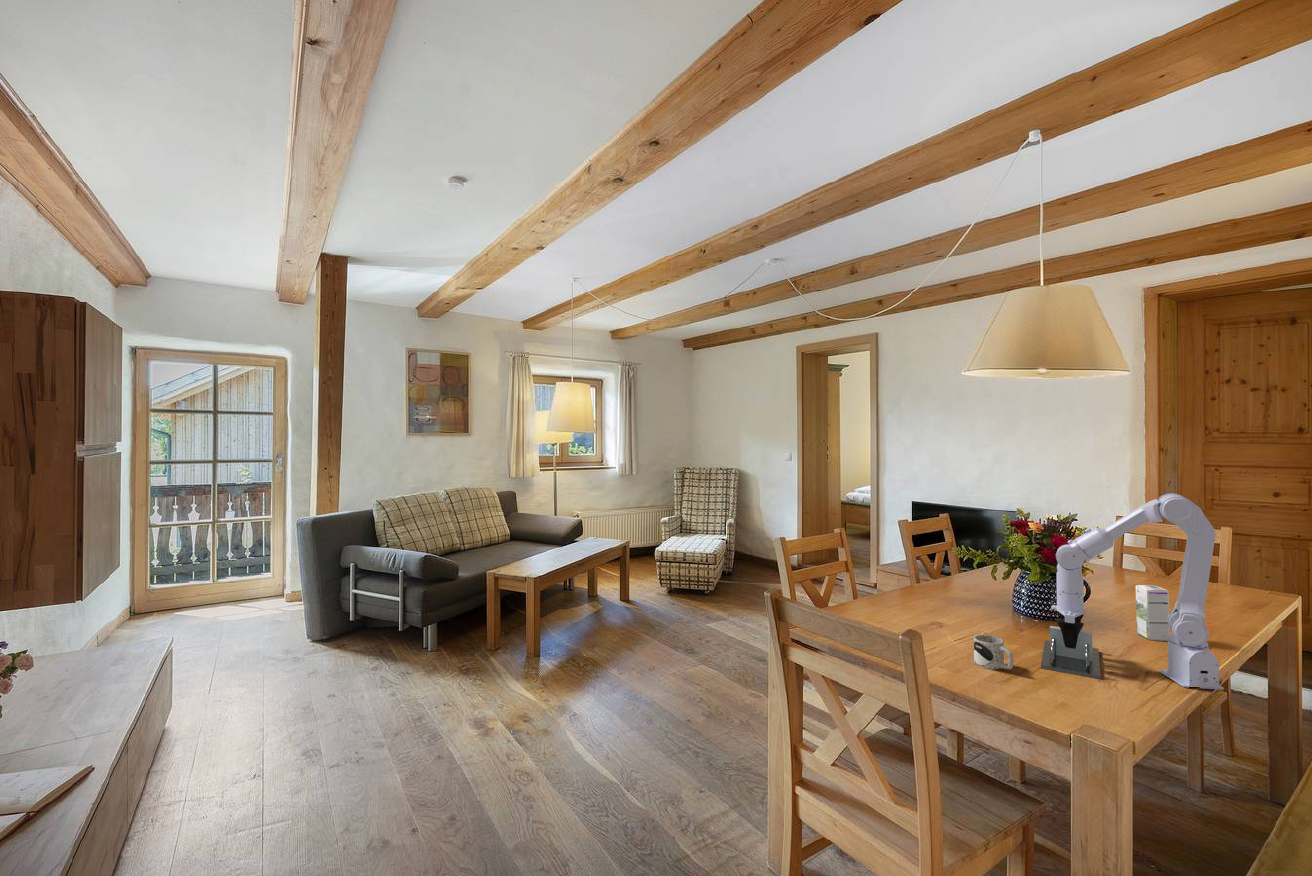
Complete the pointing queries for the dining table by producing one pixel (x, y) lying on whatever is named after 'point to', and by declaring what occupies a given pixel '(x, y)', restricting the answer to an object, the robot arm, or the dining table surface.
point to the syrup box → (1152, 612)
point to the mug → (991, 652)
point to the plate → (1077, 653)
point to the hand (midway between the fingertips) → (1070, 643)
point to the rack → (1071, 662)
